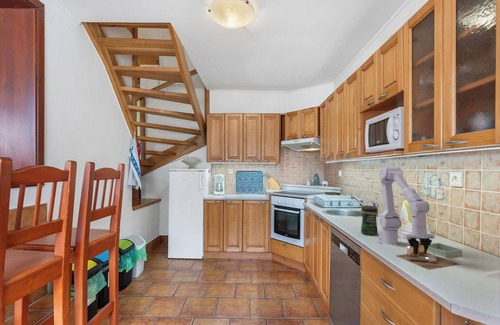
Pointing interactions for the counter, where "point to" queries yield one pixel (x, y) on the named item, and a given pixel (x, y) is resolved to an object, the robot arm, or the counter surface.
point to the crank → (424, 258)
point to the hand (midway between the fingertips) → (419, 253)
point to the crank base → (439, 263)
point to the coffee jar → (369, 220)
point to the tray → (450, 250)
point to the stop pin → (420, 250)
